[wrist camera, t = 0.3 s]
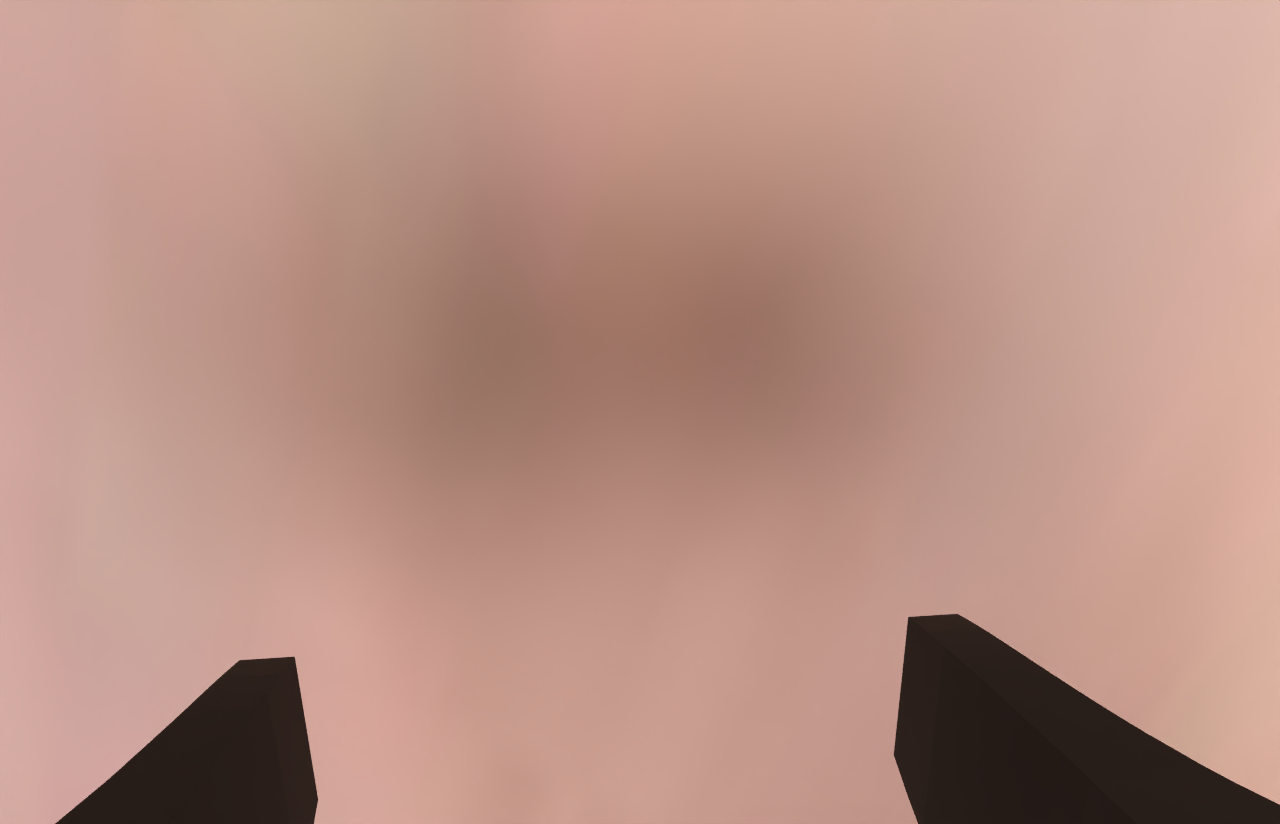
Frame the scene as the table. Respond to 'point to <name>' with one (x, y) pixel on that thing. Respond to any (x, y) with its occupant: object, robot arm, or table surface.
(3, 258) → the table surface
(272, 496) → the table surface
